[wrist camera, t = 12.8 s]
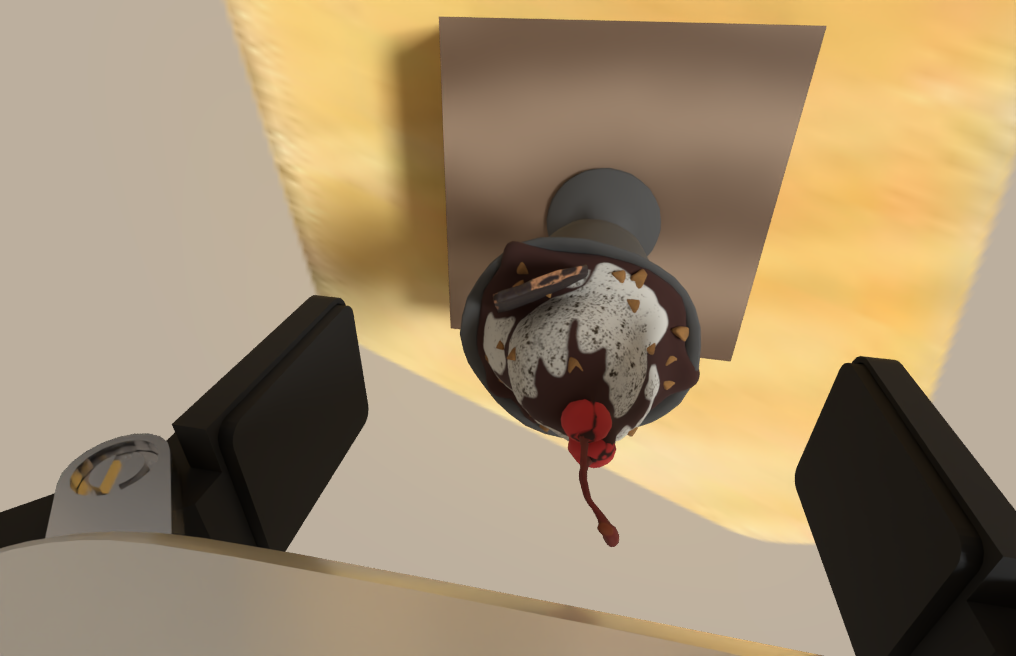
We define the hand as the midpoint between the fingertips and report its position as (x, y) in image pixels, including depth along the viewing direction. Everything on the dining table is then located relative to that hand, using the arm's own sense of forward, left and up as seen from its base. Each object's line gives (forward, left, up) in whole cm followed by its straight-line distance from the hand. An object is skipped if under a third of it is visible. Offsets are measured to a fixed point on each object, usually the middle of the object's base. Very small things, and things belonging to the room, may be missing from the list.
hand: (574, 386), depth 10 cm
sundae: (+1, 0, -14) cm, 14 cm away
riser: (+1, 0, -18) cm, 18 cm away
